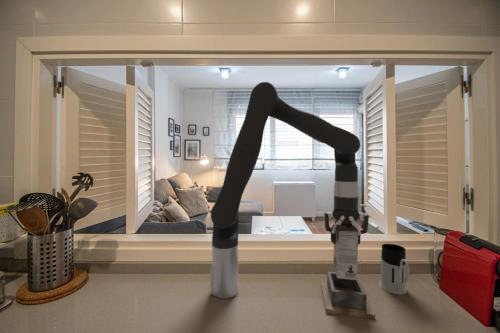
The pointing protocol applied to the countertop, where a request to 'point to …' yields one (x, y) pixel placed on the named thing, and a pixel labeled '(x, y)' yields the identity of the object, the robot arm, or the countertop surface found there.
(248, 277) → the countertop surface
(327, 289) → the dock
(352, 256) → the coffee box
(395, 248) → the glass holder
